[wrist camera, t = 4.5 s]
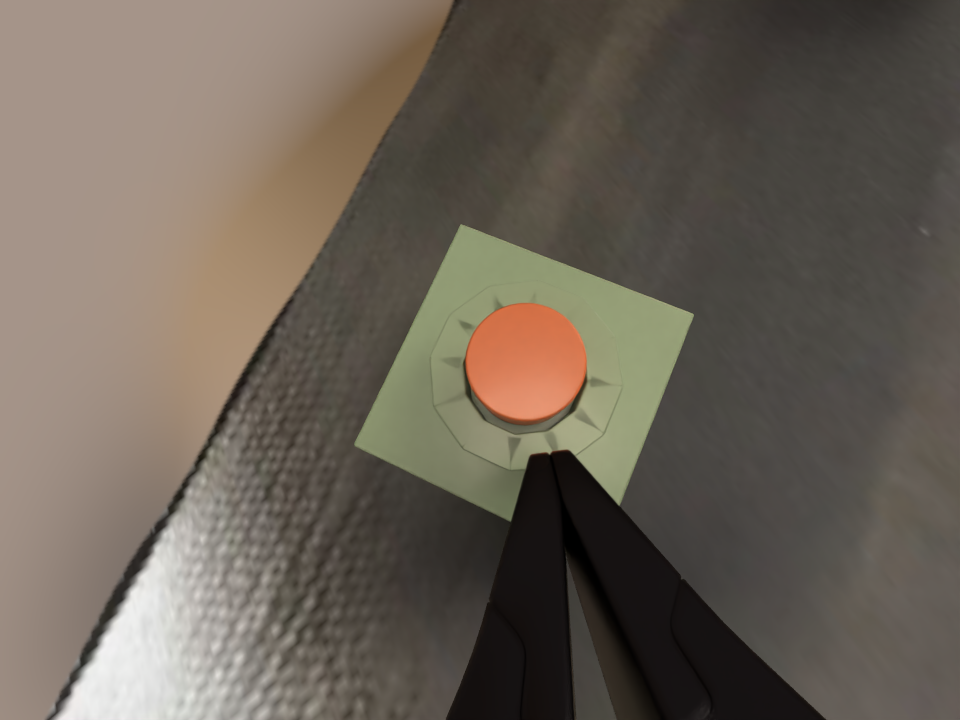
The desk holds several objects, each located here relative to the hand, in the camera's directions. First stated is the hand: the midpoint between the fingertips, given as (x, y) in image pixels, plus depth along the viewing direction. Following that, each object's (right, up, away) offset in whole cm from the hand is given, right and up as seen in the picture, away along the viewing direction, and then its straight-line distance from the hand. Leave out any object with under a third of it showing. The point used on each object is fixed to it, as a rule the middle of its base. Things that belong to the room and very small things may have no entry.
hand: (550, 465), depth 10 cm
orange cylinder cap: (0, +2, +6) cm, 7 cm away
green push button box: (+1, 0, +14) cm, 14 cm away
